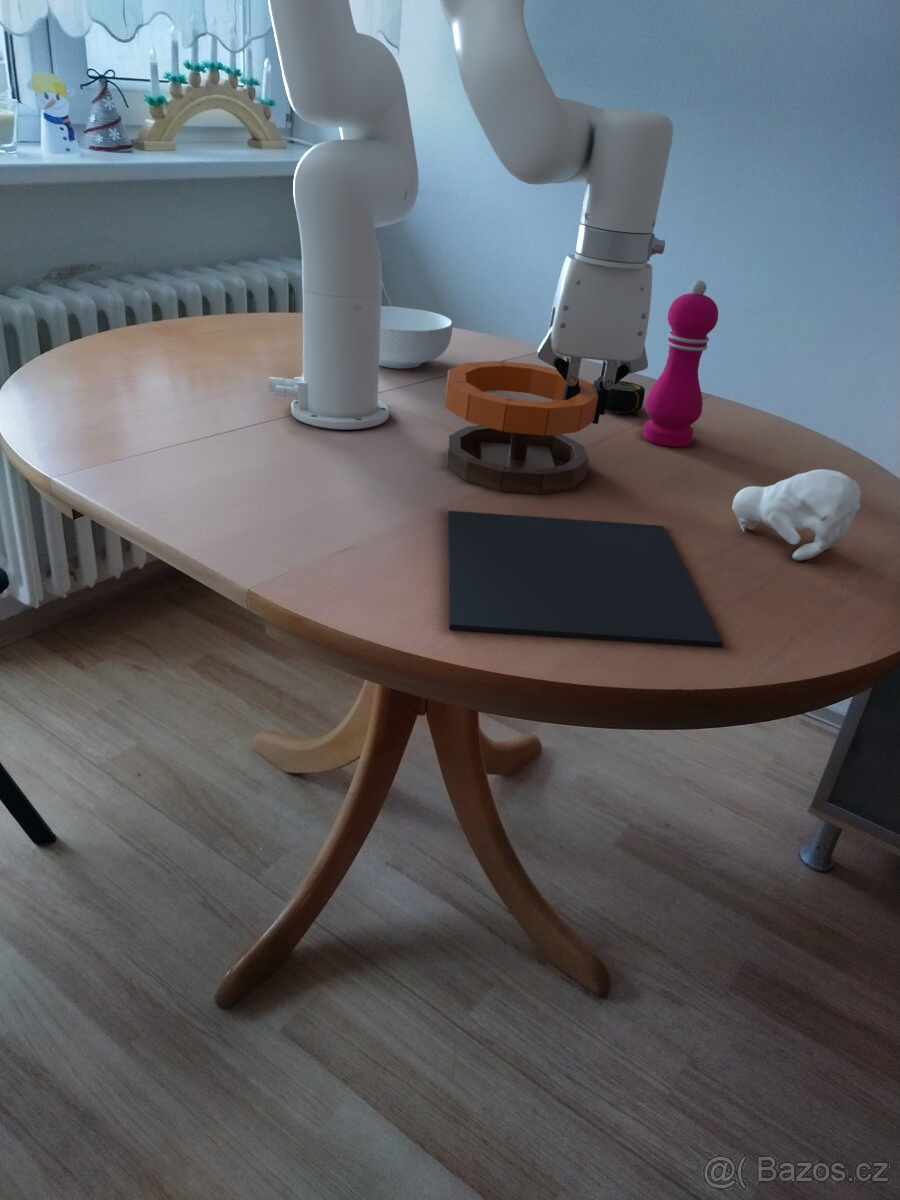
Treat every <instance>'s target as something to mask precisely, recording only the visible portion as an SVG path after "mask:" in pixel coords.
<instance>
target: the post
mask: <svg viewBox="0 0 900 1200" xmlns="http://www.w3.org/2000/svg"><path fill="white" fill-rule="evenodd" d="M528 439H529V434H522V433H512V434H511V442H510V444H500V443H486V442H480V448H479V449H478V453H479V460H483V461H486V462H490V463H494V464H497V465H501V466H505V467H514V468H528V469H543V468H550V467H556V464H555V462H554V457H553V455H552V454H551V451H550V448H549V447H540V446H528Z"/></svg>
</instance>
